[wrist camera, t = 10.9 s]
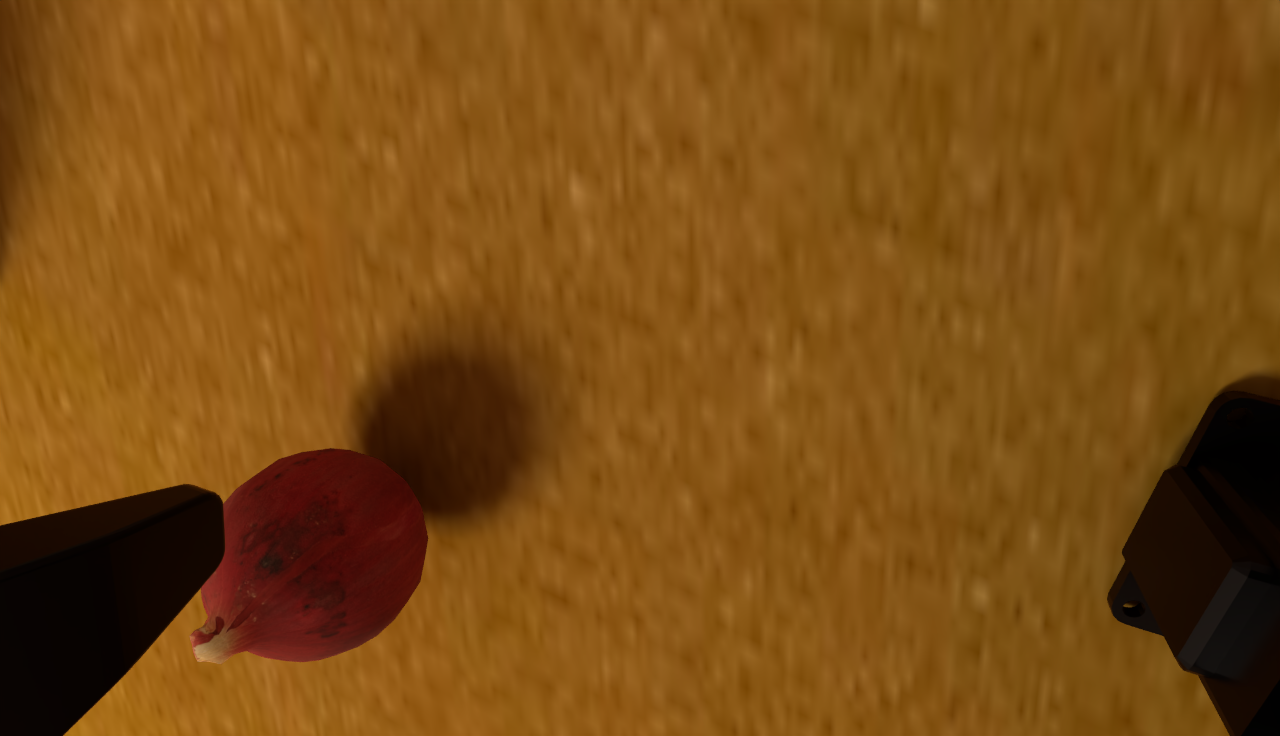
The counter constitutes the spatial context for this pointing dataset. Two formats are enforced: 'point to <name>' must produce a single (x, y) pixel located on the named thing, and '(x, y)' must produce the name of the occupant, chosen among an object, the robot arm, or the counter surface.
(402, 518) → the onion
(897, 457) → the counter surface
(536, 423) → the counter surface
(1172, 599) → the robot arm
